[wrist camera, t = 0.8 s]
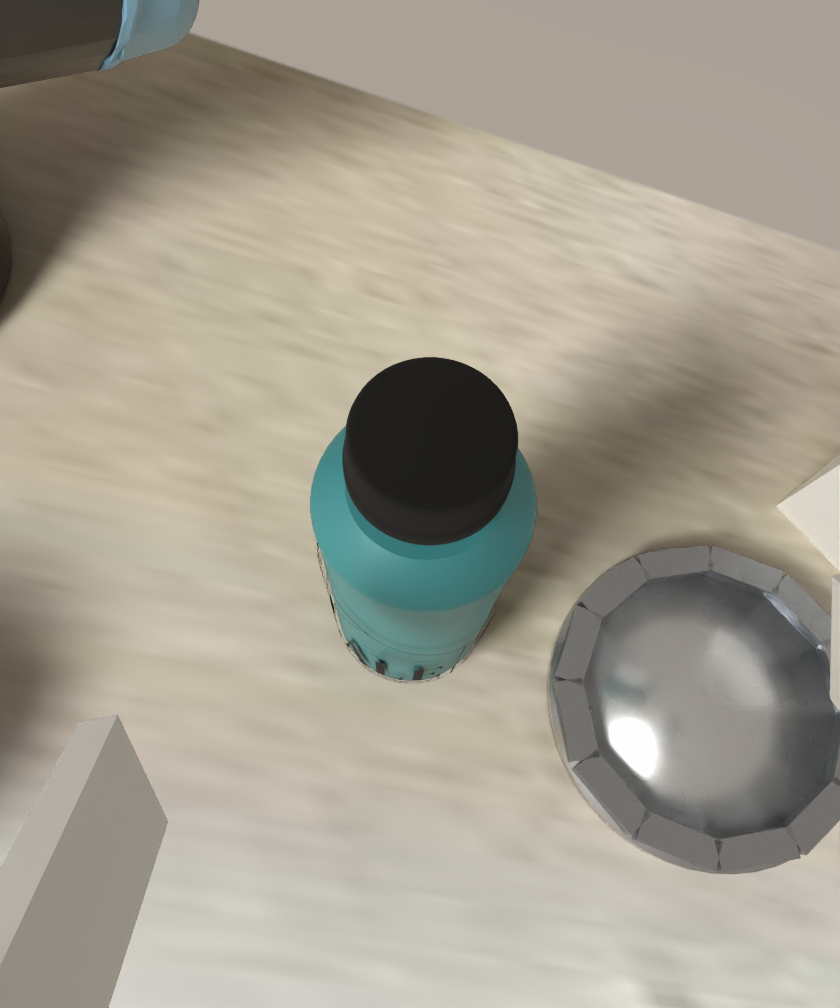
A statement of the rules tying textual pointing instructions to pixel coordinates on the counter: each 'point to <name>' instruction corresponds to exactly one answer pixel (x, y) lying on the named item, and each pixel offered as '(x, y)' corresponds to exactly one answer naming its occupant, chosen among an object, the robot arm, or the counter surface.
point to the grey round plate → (700, 709)
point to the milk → (818, 510)
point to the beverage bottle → (422, 515)
